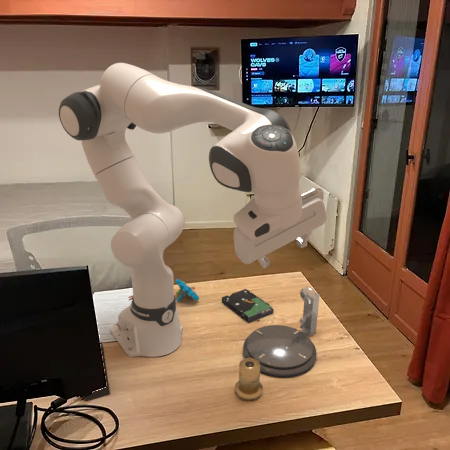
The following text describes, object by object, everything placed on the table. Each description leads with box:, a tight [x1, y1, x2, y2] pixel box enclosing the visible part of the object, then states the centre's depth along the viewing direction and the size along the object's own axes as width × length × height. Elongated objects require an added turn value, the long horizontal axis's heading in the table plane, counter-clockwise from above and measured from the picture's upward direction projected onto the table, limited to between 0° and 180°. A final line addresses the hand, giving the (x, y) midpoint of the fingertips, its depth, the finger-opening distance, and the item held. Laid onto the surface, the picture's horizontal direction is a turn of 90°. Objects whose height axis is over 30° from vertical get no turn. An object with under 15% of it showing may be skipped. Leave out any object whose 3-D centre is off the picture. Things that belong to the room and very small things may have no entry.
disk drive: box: [221, 288, 275, 324], centre depth 146 cm, size 10×3×15 cm
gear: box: [174, 278, 200, 303], centre depth 150 cm, size 11×6×10 cm
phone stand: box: [83, 341, 111, 402], centre depth 110 cm, size 9×6×12 cm, turn 23°
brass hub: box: [234, 358, 264, 402], centre depth 110 cm, size 7×7×8 cm
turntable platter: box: [247, 324, 314, 370], centre depth 124 cm, size 18×18×2 cm
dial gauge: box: [299, 286, 320, 337], centre depth 130 cm, size 5×6×16 cm
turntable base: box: [242, 335, 317, 379], centre depth 125 cm, size 20×20×2 cm
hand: (283, 255), depth 96 cm, fingers open, 8 cm apart
